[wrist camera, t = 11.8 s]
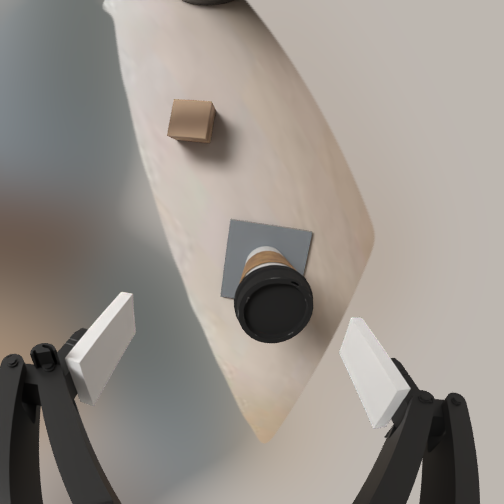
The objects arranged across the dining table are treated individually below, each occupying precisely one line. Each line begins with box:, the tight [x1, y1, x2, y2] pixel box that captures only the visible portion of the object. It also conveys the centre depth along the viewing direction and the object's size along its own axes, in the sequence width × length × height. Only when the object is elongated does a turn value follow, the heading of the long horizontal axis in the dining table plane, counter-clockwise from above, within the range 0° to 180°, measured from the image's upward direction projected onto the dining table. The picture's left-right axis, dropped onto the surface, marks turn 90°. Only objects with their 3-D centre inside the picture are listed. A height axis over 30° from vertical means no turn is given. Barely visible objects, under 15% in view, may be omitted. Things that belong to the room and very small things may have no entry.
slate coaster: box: [221, 219, 312, 298], centre depth 41 cm, size 12×12×1 cm
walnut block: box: [167, 99, 216, 143], centre depth 33 cm, size 5×5×5 cm
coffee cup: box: [234, 246, 313, 343], centre depth 33 cm, size 8×8×15 cm
